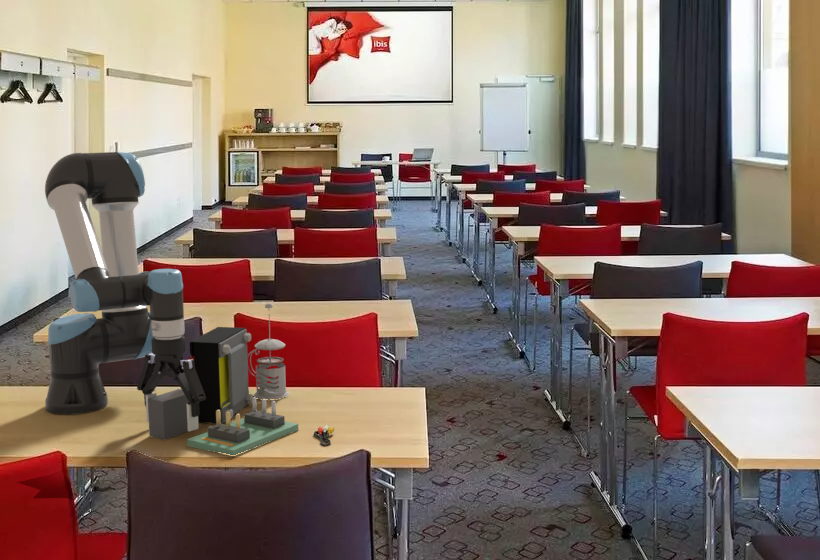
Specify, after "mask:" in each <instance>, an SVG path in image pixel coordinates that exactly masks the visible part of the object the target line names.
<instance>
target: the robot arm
mask: <svg viewBox="0 0 820 560" xmlns="http://www.w3.org/2000/svg"><path fill="white" fill-rule="evenodd" d="M46 176H47V177H46V179H45V183H44V184H45V185H44V194H45V199H46V201H47V202H46V203H47V205H48V207H49V208H50V209H52V210H53V211H54V213H55V217H56V219H57V223H58V226H59V229H60V233H61V237H62V239H63V242H64V245H65V248H66V252H67V256H68V259H69V262H70V265H71V268H72V271H73V274H74V277H75V280H72V282H71V283H70V284H69V285H70V287H69V297H70V301H71V305H72V308H73V309H74V311H76V312H77V313H75V314H70V315H66V316H63V317H59V318H57V319H55V320H53V321H52V322H51V323H50V324H49V326H48V331H47V336H48V337H47V344H48V352H49V367H50V382H49V385H48V390H47V396H46V398H45V400H44V401H45V411H46V412H48V413H50V414H51V413H52V414H54V415H55V414H56V415H78V414H86V413H90V412H95V411H98V410H101V409H103V408H106V406H107V405H109V399H108V398H109V397H108V394H107V392H106V389H105V385H104V383H103V381H102V379H101V376H100V369H99V365H100V364H106V363H111V362H121V361H122V362H123V361H127V360H134V361H135V360H137V359H142V358H144V365H143V367H142V370H141V374H140V377H139V379H138V383H137V386H136V389H137V390H138V391H141V392H142V394H143V396H144V397H143V398H144V400H143V401H144V406H145V410H146V412H145V415H146V422H147V423H149V415H148V398H151V397H155V396H158V394H157V392H156V388H157V386H158V385H159V383H160V381H161V380H162V378H163V376H164V377H165V376H167V377H168V378H172V379H173V380H174V381H176V382H177V384H178V386H179V387H180V389H181V390H182V391H183V393H184V394H185V396H186V398H187V399H188V401H189V402H188V403H187V426H188V432H192V431H196V430H199V423H198V416H199V414H200V412H199V402H200V401H203V400H205V399H206V396H205V393H204V390H203V388H202V385H201V383H200V380H199V378H198V375H197V372H196V370H195V364H194V360H193V359H190V360H187V359H184V353H185V352H186V337H185V336H184V334H185V333H186V332H185V331H186V330H185V328H186V327H185V315H184V283H183V275H182V272H181V271H180V270H179V269H176V268H174V269H173V268H158V269H153V270H151V271H141V272H139V263H138V251H137V250H138V249H137V239H136V237H137V236H136V228H135V227H136V226H135V215H134V210H135V208H136V207H137V206H138V205H139V203H140V202H139V198H141V197H142V196H144V195H145V190H146V188H145V186H146V180H145V174H144V169H143V167H142V165H141V162H140V161H139V159H138V158H137V156H136V155H134V154H133V153H131V152H122V151H121V152H119V151H113V152H111V151H110V152H108V151H107V152H75V153H73V152H72V153H69V154H67V155H65V156H63V157H61V158H60V159H59V160H57V162H55V164H54V165H52V167H51V168H50V170H49V172H48V174H47V175H46ZM88 199H89V200H90V199H91V206H92V207H93V208H94V209H95V210H96V211H97V212H98V215H99V216H98V217H99V225H100V226H99V227H100V238H101V240H99V239H98V235H97V233H96V230H95V229H96V228H95V226H94V224H93V221H92V217H91V215H90V211H89V208H88V205H87V203H86V202H87V200H88ZM99 241H101V244H100V242H99ZM148 307H149V308H148ZM148 310H149V311H148ZM99 311H101V317H100V318H99V317H98V318H97V316H96V315H95V314H94V313H96V312H99ZM78 312H79V313H78ZM91 312H93V313H91ZM199 395H200V396H199ZM192 396H193V397H194V398H193V397H192Z"/></svg>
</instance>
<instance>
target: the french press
mask: <svg viewBox="0 0 820 560" xmlns="http://www.w3.org/2000/svg"><path fill="white" fill-rule="evenodd" d="M264 308H265V309H268V310H270V309H272V308H273V304H272V303H271V302H270V303H269V302H268V303H266V304H265V306H264ZM270 320H271V319H270V315H268V331H269V332H268V335H269V336H268V337H269V338H266V339H265V338H264V339H263V340H259V341H258V342H257V343H255V344H254V347H255V349H253V350H252V351H250V352H249V353H247V359H248V360H249V364H250V367H248V373H250V374H251V375H252V376H254V377H255V379H256V380H255V381H256V382H255V383H256V392H255V393H254V394H253V395H254V397H256V398H258V399H268V400H270V399H279V398H283V397H286V396H288V395H289V394H290V393H289V392H288V390H286V389H287V387H286V385H287V384H286V365H285V363H283V362H284V361H285V359H284V358H283V357H279V356H272V355H271V353H272V352H271V351H276V350H281V349H284V348H285V347H286V343H284V342H282V341H281V340H279V339H274V338H271V321H270ZM257 350H258V351H257ZM261 350H262V351H269V356H264V357H260V358H258V359H256V362H257V365H255V370H254V367H253V366H252V355H253V354H255V355H256V356H257V355H258V356H259V354H260V351H261ZM249 356H250V357H249ZM270 367H274V368H270ZM276 367H277V368H276ZM250 368H251V370H250ZM268 368H269V369H268ZM252 371H253V373H254V374H253V373H252ZM255 374H256V375H255ZM288 397H289V396H288ZM258 399H257V400H258Z"/></svg>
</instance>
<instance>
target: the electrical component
mask: <svg viewBox="0 0 820 560" xmlns="http://www.w3.org/2000/svg"><path fill="white" fill-rule="evenodd" d="M247 331H248V330H247V328H245V327H234V326H233V327H229V326H228V327H227V326H224V327H223V326H217V327H214V329H212V330H210V331H207V332H206V333H204V334H202V335H201V336H199V337H197V338H194V339H192V340H191V341H190V342H189V353H190V357H188V356H187V358H186V360H190V359H193V360H194V364H195V370H196V372H197V375H198V378H199V380H200V383H201V385H202V388H203V390H204V393H205V396H206V399H205V400H203V401H200V402H199V412H200V414H199V416H198V424H199V423H200V424H215V425H216V410H220V413H221V424H224V423H226V412H230V420H231V419H232V418H233V417H234V416H235V415H236V414H238V412H239V410H243V408H245V407H246V406H247V405H249V404H252V398H253V395H254V394H252V393H251V394H250V391H249V370H248V368H249V363H248V362H249V358H248V359H247V357H248V343H249V342H250V341H252V334H251V333H250V332H247ZM199 396H200V395H199ZM235 413H236V414H235Z"/></svg>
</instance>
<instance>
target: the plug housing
mask: <svg viewBox="0 0 820 560" xmlns="http://www.w3.org/2000/svg"><path fill="white" fill-rule="evenodd" d="M192 397H193V396H192ZM193 398H194V397H193ZM188 402H189V401H188V399H187V398H186V396H185V394H184V393H183V391H182V389H181V388H180V389H179V388H178V389H175V390H171V391H169V392H165V393H162V394H159V395H158V394H157V396H155V397H151V398H148V415H149V422H148V429H149V432H148V433H149V437H150V438H151V437H152V438H155V439H159V440H164V441H166V440H168V439H171V438H173V437H177V436H179V435H182V434H186V433H187V432H189V431H188V426H187V403H188Z"/></svg>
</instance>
